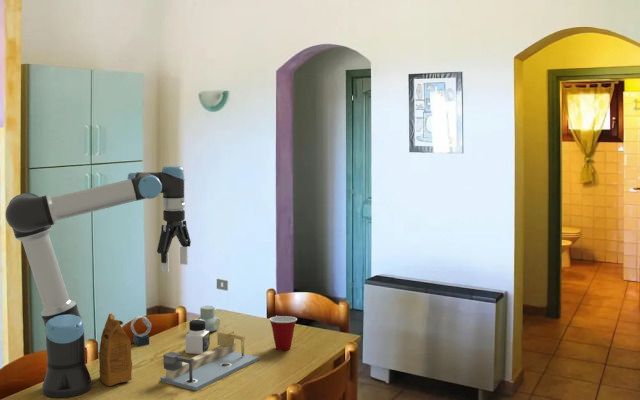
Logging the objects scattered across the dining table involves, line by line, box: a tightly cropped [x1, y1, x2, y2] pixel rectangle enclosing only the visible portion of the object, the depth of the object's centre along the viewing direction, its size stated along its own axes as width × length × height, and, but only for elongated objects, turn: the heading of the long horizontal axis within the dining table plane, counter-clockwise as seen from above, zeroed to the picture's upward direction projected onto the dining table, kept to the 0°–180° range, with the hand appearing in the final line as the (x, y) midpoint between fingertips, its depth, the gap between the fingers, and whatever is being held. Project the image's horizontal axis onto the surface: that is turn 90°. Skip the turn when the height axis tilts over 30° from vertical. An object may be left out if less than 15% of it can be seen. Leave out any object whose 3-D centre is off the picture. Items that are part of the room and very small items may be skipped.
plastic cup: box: [269, 315, 298, 351], centre depth 261 cm, size 11×11×12 cm
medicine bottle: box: [185, 318, 211, 355], centre depth 258 cm, size 7×7×12 cm
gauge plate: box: [160, 351, 260, 392], centre depth 238 cm, size 34×16×1 cm, turn 148°
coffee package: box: [98, 313, 133, 387], centre depth 228 cm, size 10×12×22 cm
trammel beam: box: [163, 342, 237, 382], centre depth 239 cm, size 34×11×8 cm, turn 148°
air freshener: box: [197, 305, 221, 333], centre depth 284 cm, size 11×8×10 cm
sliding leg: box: [216, 329, 246, 356], centre depth 250 cm, size 4×11×8 cm, turn 58°
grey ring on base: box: [130, 315, 152, 347], centre depth 267 cm, size 6×8×11 cm
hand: (174, 267), depth 243 cm, fingers open, 13 cm apart
